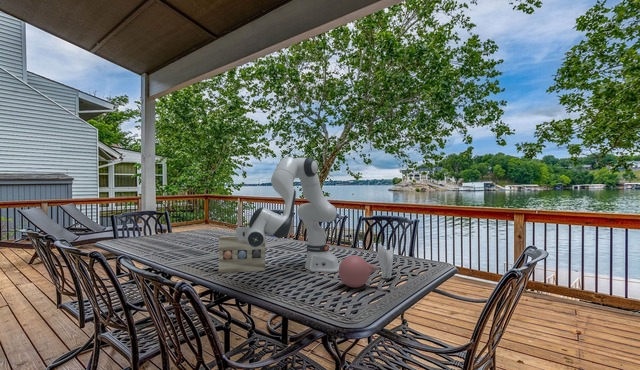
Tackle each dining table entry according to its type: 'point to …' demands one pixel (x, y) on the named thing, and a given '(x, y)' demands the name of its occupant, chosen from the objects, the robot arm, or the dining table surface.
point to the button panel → (234, 262)
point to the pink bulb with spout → (355, 271)
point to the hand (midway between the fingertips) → (256, 228)
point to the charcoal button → (256, 253)
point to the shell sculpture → (385, 261)
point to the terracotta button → (227, 254)
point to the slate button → (242, 254)
